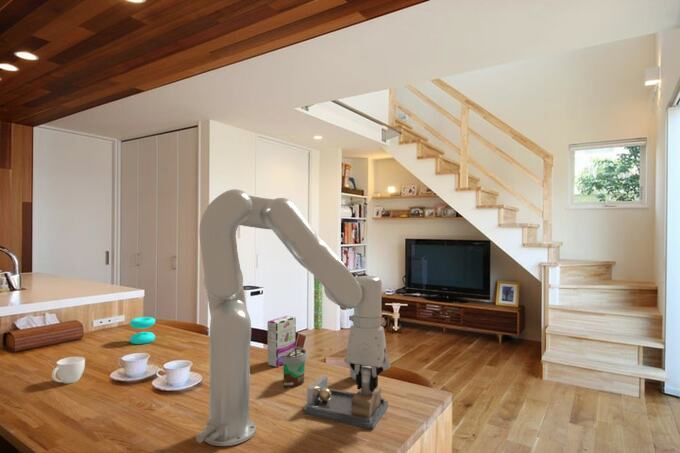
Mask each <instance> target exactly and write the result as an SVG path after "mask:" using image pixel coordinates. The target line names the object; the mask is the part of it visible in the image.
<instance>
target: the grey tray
mask: <svg viewBox="0 0 680 453" xmlns="http://www.w3.org/2000/svg"><path fill="white" fill-rule="evenodd" d="M357 393H358V392H357ZM357 393H356V392H351V391H344V390H341V389H340V390H338V389H334V388H328V376H326V375H322V376H320V377H319V378H317V379H316V380H315V381H314V382H312V384H310V385H309V386H308V387H307V389H306V406H304V408H303V409H302V415H304V416H307V417H312V418H318V419H322V420H326V421H332V422H335V423H342V424H345V425H350V426H354V427H360V428H364V429H369V430H374V429H375V428H376V426H377V425H378V423H379V421H380V420H381V419H382V417H383V416H384V414H385V412H386V411H387V409H388V407H389V401H387V400H385V398H384V397H381V403H380V404H379V405H378V407H377V408H376V410H375V411H374V412H373V414H372V415H371V416H370V417H366V416H361V415H356V414H351V411H352V398H353V397H354V396H355V395H356V394H357Z"/></svg>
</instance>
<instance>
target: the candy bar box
mask: <svg viewBox="0 0 680 453" xmlns="http://www.w3.org/2000/svg"><path fill="white" fill-rule="evenodd" d="M296 320H297V319H296V316H292V315H283V316H281V317H278V318H274V319H271V320H267V365H268V366H271V367H274V368H279V367H281V366H283V357H287V356H288V354H289V353H291V352H292V351H293V350H294V347H297V344H296V343H297V342H296V340H297V339H296V329H297V328H296V324H297V323H296Z"/></svg>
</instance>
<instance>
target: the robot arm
mask: <svg viewBox="0 0 680 453" xmlns="http://www.w3.org/2000/svg"><path fill="white" fill-rule="evenodd" d="M199 223H200V224H199V233H198V234H199V243H200V252H201V262H202V268H203V275H204V278H203V284H204V287H205V290H206V294H207V301H208V308H209V312H210V313H209V314H210V315H209V316H210V321H209V322H210V323H209V414H208V416H209V417H208V418H209V419H208V420H207V421H206V426H205V427H203V430H202V431H200V432H199V433H197V434H196V436H195V440H196V442H197V443H199V444H202V442H205V443H207V444H209V445H211V446H215V447H217V446H218V447H230V446H235V445H239V444H241V443H244V442H246V441H248V440H250V439H251V438H252V437H254V435H255V433H256V428H257V427H256V423H255V421H253V420H252V419H251V418H250V402H251V401H250V393H251V390H250V387H251V385H250V384H251V383H250V382H251V371H250V370H251V368H250V367H251V366H250V365H251V362H250V361H251V342H252V341H251V339H252V322H251V321H252V320H251V317H250V314H249V312H248V309H247V308H248V307H247V302H246V297H245V289H244V284H243V283H244V275H243V272H242V269H241V265H240V259H239V253H238V244H237V242H238V241H237V231H238V228H239V226H242V227H250V228H256V229H264V230H272V231H273V233H274V234H275V235H276V237H277V238H278V239H279V241H281V243H282V244H283V245H284V246H285V248H286V249H287V251H288V252H289V253H290V254H291V255H292V256H293V258H294V259H295V260H296V261H297V262H298V263H299V264H300V265H301V266H302V267H303V268H304V269H306V270H307V271H308V272H310V273H311V274H312V276H314V277H315V278H316V279H317V280H318V281H319V283H320V284H321V285H322V286H323V287H324V288H323V291H324V295H325V296H326V298H327V299H328V300H329V301H331V302H332V303H334V304H336V305H338V307H340V308H342V309H345V310H348V309H349V310H350V309H353V314H352V315H349V316H348V317H349V318H348V320H349V321H350V322H352V325H350V327H349V328H350V329H349V333H348V340H347V349H346V351H347V352H346V356H345V357H344V359H343V362H344V363H345V364H346V365H348V366H349V368H350V367H351V368H352V369H353V370H354V373H355V374H356V380H355V385H357V386H356V390H358V391H359V390H360V389H361V368H362V365H364V366H370V367H372V376H371V377H370V391H371V392H373V391H374V390H375V389H376V388H378V385H379V383H378V382H379V375H380V374H381V373H382V372H384V371H386V370H387V371H388V370H389V369H390V368H391V366H392V365H391V362H390V361H389V359H388V356H387V340H386V334H385V328H384V326H382V297H383V296H382V294H383V293H382V289H383V288H382V284H383V283H382V279H381V278H380V277H378V276H374V275H360V276H354V275H353V273H352V272H351V271H350V270H349V269H348V267H347V266H346V265H345V264H344V263H343V261H342V260H341V259H340V258H339V257H338V256H337V255H336V253H334V251H333V250H332V249H331V248H330V247H329V246H328V244H327V243H326V242H325V241H324V240H323V239H322V238H321V236H319V234H318V232H317V231H316V230H315V229H314V228H313V226H312V225H311V224H310V223H309V221H308V220H307V219H306V217H305V216H304V215H303V214H302V212H301V211H300V210H299V209H298V207H297V206H296V205H295V203H293V202H292V201H291V200H289V199H288V198H285V197H277V198H273V199H272V198H267V197H259V196H254V195H253V196H252V195H249V194H248V193H247V192H245V191H243V190H241V189H238V188H237V189H235V188H234V189H228V190H226V191H224V192H222V193H221V194H219V195H218V196H216V198H214V199H213V200H212V201H211V202H210V203H209V204H208V205H207V207H206V208H205V210H204V211H203V214H202V216H201V219H200V222H199Z"/></svg>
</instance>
